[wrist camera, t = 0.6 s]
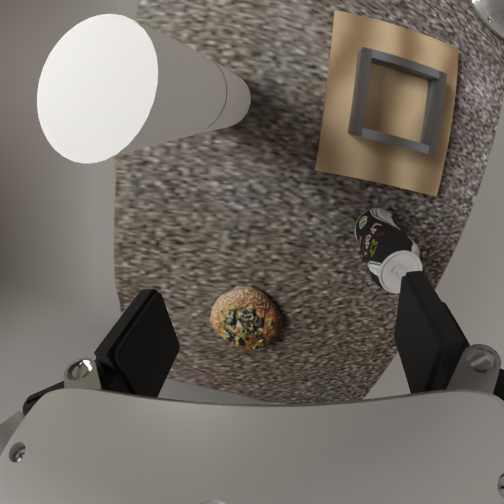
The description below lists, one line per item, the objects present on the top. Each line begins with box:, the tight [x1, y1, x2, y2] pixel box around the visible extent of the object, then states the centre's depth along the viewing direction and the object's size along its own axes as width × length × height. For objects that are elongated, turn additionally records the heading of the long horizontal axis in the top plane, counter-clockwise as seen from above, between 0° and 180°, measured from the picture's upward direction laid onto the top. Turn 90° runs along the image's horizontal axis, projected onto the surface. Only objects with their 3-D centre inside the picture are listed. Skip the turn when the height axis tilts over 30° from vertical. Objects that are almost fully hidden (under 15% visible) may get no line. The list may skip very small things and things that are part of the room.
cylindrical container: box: [37, 14, 251, 163], centre depth 22 cm, size 7×7×25 cm
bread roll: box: [210, 286, 283, 350], centre depth 44 cm, size 11×11×5 cm
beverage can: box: [355, 208, 423, 293], centre depth 31 cm, size 6×6×12 cm
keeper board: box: [315, 10, 459, 197], centre depth 28 cm, size 16×20×4 cm
